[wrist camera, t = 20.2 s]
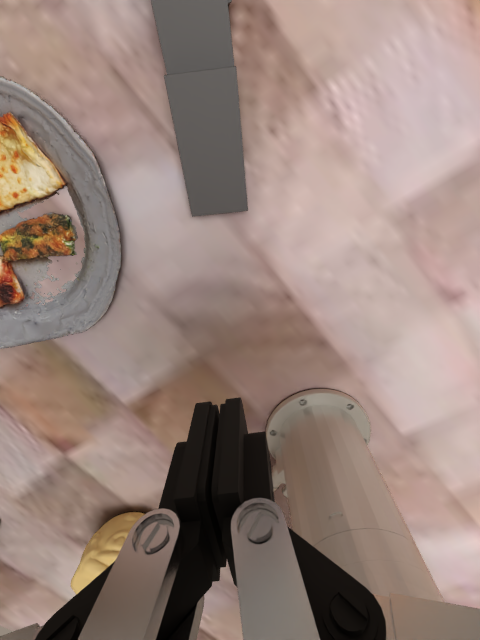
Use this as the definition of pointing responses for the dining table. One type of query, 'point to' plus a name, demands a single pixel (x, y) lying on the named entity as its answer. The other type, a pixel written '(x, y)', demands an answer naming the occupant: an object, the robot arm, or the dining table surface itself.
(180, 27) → the domino
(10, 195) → the food plate
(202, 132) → the domino
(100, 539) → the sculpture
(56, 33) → the dining table surface
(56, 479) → the dining table surface
